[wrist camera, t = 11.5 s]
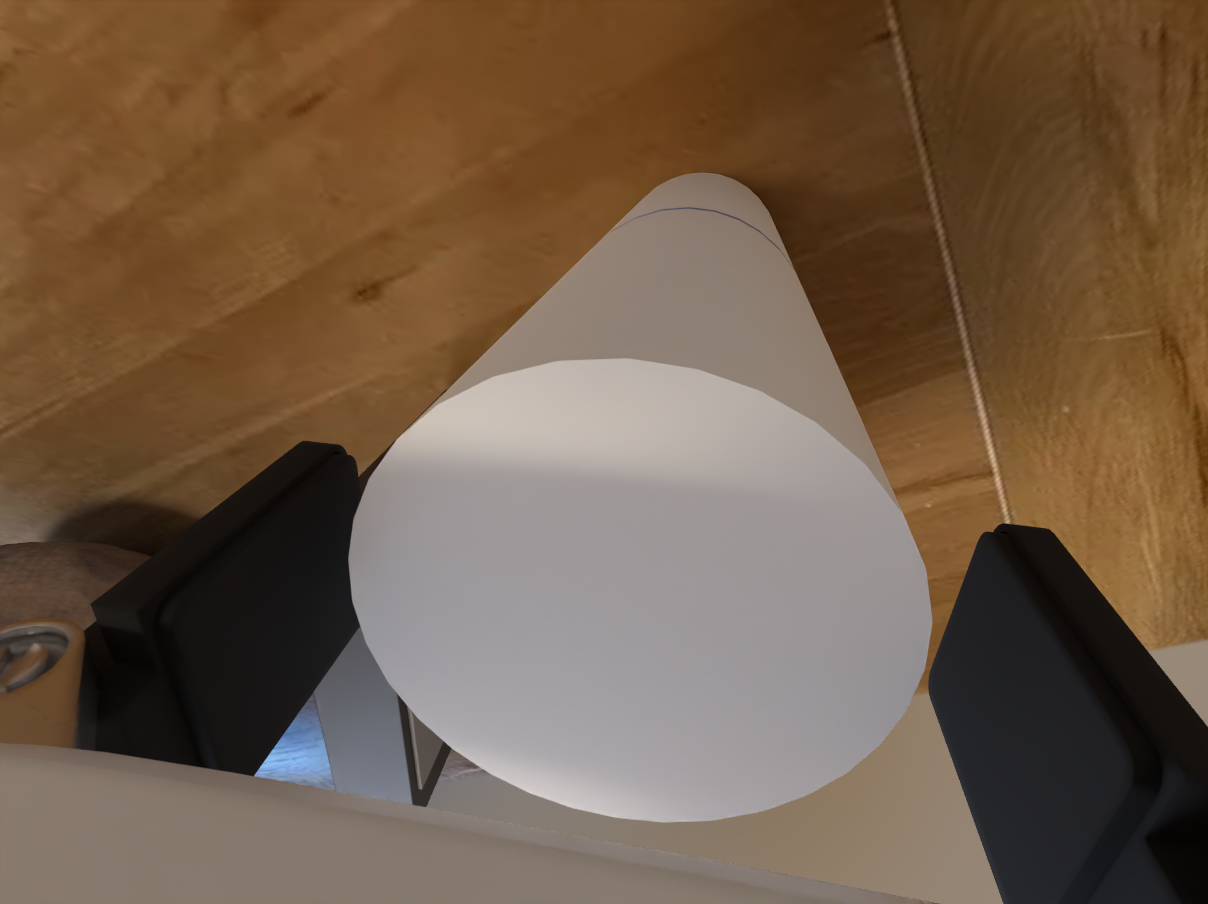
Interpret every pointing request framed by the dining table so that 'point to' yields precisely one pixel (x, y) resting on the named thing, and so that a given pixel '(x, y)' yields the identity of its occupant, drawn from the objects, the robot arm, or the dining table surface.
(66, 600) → the ceramic bowl
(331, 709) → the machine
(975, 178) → the dining table surface
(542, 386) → the cylindrical container
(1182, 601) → the dining table surface
